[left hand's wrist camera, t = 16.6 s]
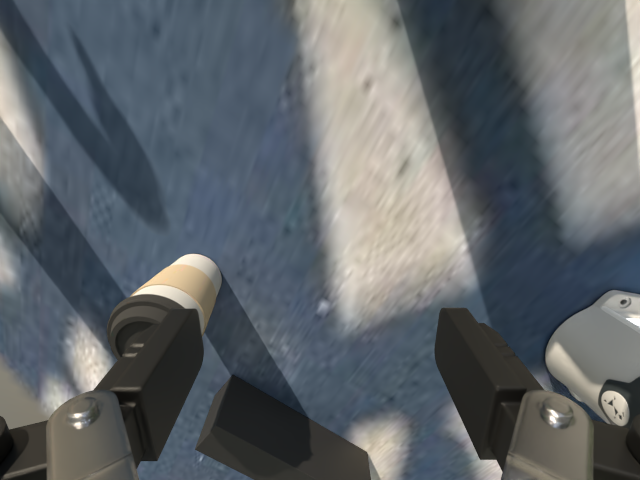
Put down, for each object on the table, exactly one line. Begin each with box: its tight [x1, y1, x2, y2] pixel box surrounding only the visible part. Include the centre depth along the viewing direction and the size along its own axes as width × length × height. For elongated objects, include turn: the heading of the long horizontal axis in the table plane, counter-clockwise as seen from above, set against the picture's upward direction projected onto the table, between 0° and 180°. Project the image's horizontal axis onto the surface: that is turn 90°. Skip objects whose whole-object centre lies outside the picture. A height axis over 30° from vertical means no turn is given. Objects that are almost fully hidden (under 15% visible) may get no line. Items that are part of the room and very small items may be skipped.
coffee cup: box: [107, 254, 222, 360], centre depth 39 cm, size 9×9×15 cm
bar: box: [195, 375, 371, 480], centre depth 51 cm, size 27×5×9 cm, turn 52°
